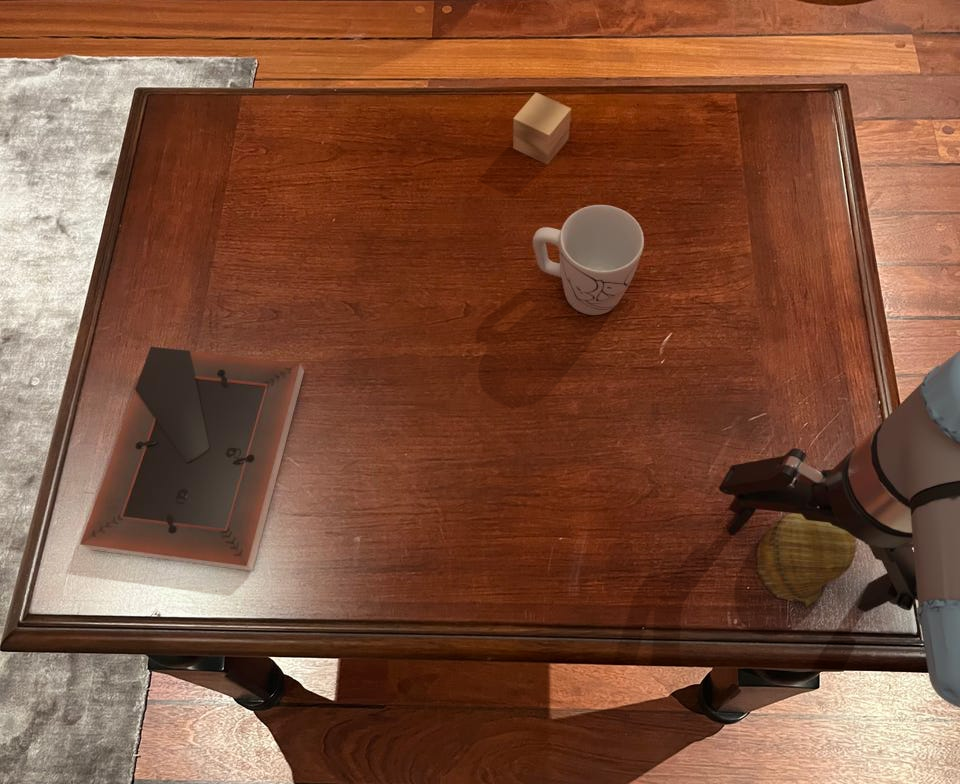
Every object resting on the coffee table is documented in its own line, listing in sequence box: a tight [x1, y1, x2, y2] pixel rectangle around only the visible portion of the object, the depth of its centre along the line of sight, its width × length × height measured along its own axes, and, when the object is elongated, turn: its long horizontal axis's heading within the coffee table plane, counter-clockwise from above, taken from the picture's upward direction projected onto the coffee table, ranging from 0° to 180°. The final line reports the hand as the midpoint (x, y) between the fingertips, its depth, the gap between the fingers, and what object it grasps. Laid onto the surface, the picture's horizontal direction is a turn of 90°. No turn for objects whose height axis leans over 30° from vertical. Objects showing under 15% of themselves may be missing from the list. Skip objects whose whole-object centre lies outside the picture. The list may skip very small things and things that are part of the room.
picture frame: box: [79, 346, 305, 572], centre depth 81 cm, size 16×2×22 cm
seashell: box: [755, 506, 857, 608], centre depth 73 cm, size 10×7×8 cm
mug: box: [532, 204, 645, 316], centre depth 85 cm, size 11×8×10 cm
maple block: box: [512, 92, 572, 166], centre depth 97 cm, size 5×5×5 cm
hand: (800, 559), depth 75 cm, fingers open, 12 cm apart
